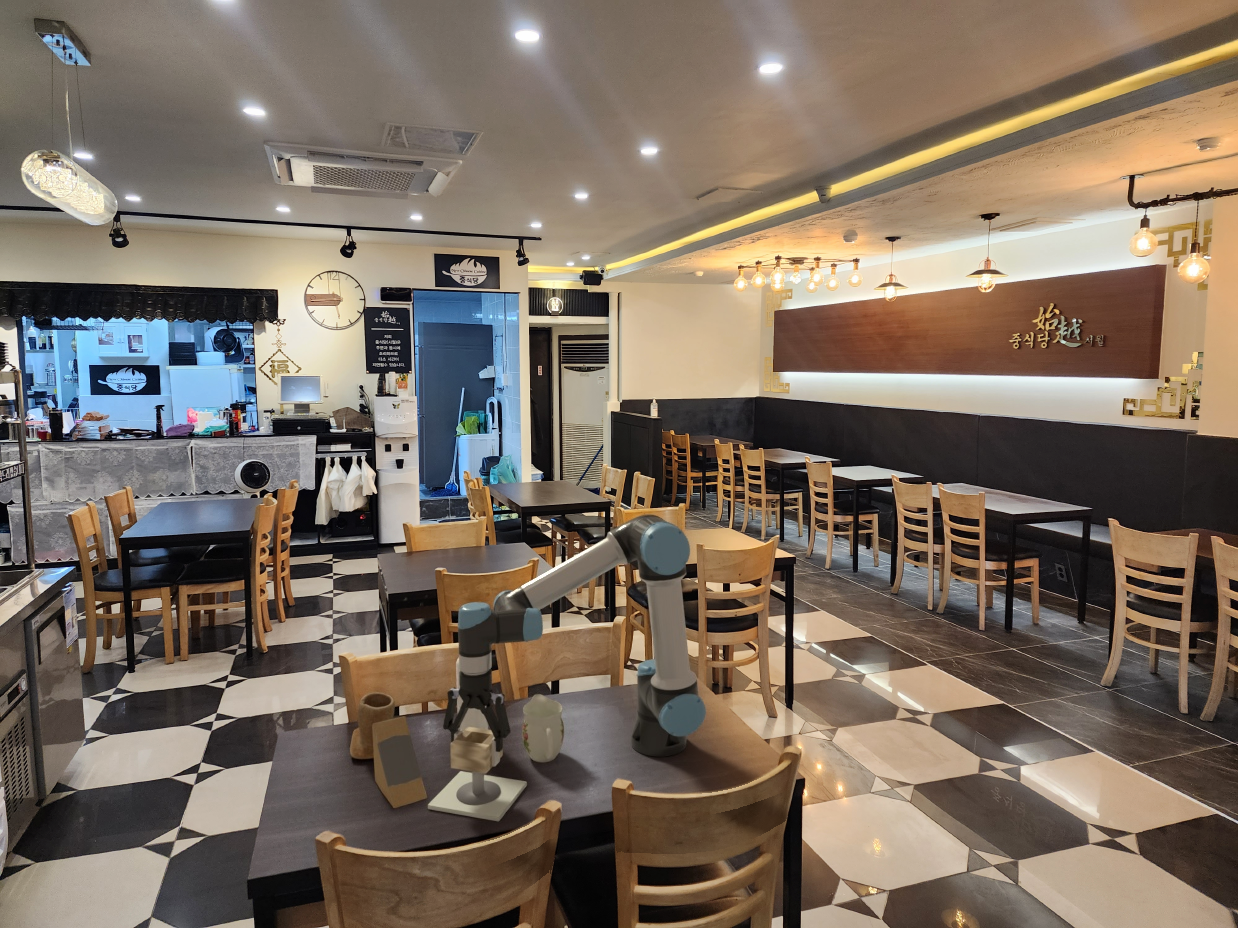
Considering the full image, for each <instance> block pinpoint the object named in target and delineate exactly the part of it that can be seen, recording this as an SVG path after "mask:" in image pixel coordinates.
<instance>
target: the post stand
mask: <svg viewBox="0 0 1238 928" xmlns="http://www.w3.org/2000/svg"><path fill="white" fill-rule="evenodd" d="M527 782H528V781H526V780H525V781H524V780H520V779H519V780H518V779H514V778H513V779H512V778H506V777H501V776H495V775H494V776H493V775H487V774H485V773H479V772H473V771H471V772H470V771H464V770H461V771H459V772H458V773H457V774H456V775H455V776H454V777H453V778H452V779H451V780H450V781H449V783H447V784H446V786H444V787H443V789H442V790H441V791H440V792H438V793H437V795H436V796H435V797H434V798H433V799H432V800H431V801H430V802H429V803H428V804H427V809H428V810H432V811H437V812H444V813H448V814H449V813H450V814H455V815H459V816H467V817H472V818H477V819H483V820H488V821H493V822H494V821H495V822H500V821H501V819H502V818H503V817H504V816H505V814H506V812H508V810H509V809H510V808H511V806H512V805H513V804H514V803H515V801H516V800H517V799H518V798H519V796H520V795H521V794H522V793H523V791H524V790H525V788H526V787H527V786H528V783H527Z"/></svg>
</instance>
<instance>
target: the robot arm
mask: <svg viewBox="0 0 1238 928" xmlns="http://www.w3.org/2000/svg"><path fill="white" fill-rule="evenodd" d="M690 555H691V545H690V541H689V539H688V537H687V535H686V534H685V533H684V532H683V531H682V529H681V528H680V527H679V526H677V525H676V524H673V523H672V522H668V521H666V520H665V519H663V518H662V517H661V516H658V515H655V514H642V515H638V516H636V517H634V518H633V517H632V518H631V519H630V520H628V521H626V522H624V523H622V524H620V525H619V526H617V527H615V528H613V529H611V530H610V531H608V532H607V535H606V536H605V538H604V539H601V540H600V541H599V542H597V543H595V544H593V545H591V546H590V547H588V548H585V549H584V550H583V551H581V552H579V553H577V554H576V555H574V556H572V557H571V558H569V559H567V560H565V561H563V562H562V563H560V564H558V565H556V566H554V567H553V568H551V569H549V570H548V571H546V572H544V573H542V574H540V575H539V576H537V577H536V578H534V579H531V580H530V581H529V582H526V583H525V584H523V585H521V586H519V587H517V588H516V589H514V590H510V589H509V590H503V591H500V593H498V594H497V595H496V596H495V598H494V601H493V604H492V605H493V610H492V608H491V605H490V604H488V603H486V602H478V601H475V602H468V603H465V604H462V605H461V606H460V607H459V609H458V616H457V617H458V619H457V621H458V622H457V634H458V636H457V637H458V641H457V642H458V658H459V669H460V672H459V685H460V689H457V687H455V686H454V687H452V688H450V689H449V690H448V691H447V706H446V710H445V716H444V721H443V724H442V725H443V726H442V728H443V729H444V731H445V730H448V731H449V732H450V743H451V742H452V741H454V740H455V739H456V738H457V737H458V736H459V735H460V734H461V733H462V729H459V730H458V728H460V727H461V726H460V725H461V723H462V721H463V719H464V717H465V715H466V713H467V711H468V709H469V708H470V709H472V708H475V709H477V710H480V711H481V713H482V714H484V716H485V718H486V720H487V723H488V728H490V729H489V730H491V731H492V733H493V735H494V738H493V739H492V766H493V767H496V766H497V765H498V764H499V763H500V761H501V758H500V751H501V750H502V749H503V748H504V739H506V738H507V737H508V736H509V735H510V734H511V731H512V730H511V727H510V722H509V718H508V715H507V710H506V706H505V698H506V696H505V693H500V694H499V693H498V694H497V693H494V691H493V689H492V688H493V687H492V685H493V672H492V669H491V668H492V667H493V666H492V664H493V663H492V661H493V660H492V645H497V644H509V643H520V642H521V643H523V642H524V643H526V642H527V643H528V642H532V641H537V640H538V641H539V640H540V639H541V638H542V636H543V633H544V632H543V631H544V627H543V626H544V624H543V616H542V611H541V609H542V610H543V609H544V608H545V607H547V606H549V605H551V604H553V603H554V602H555V601H558V600H560V599H561V598H562V597H565V596H566V595H568V594H569V593H572V592H574V591H575V590H576V589H579V588H580V587H582V586H584V585H586V584H587V583H588V582H589V583H590V582H591V581H593V580H594V579H596V578H598V577H600V576H601V575H603V574H605V573H607V572H608V571H610V570H612V569H614V568H615V567H617V566H618V565H629V564H630V563H632V562H634V561H637V567H638V575H639V576H638V578H639V579H640V580H641V581H642V582H643V583H645V584H646V591H647V603H648V611H649V621H650V629H651V639H652V647H653V648H652V649H653V657H654V658H652V659H647V660H644V661H642V662H640V663H639V664H638V666H637V673H636V678H637V679H636V680H637V681H636V683H637V687H636V688H637V694H636V695H637V696H636V697H637V699H636V702H637V711H636V712H637V715H636V719H635V722H634V723H633V724H634V725H633V727H632V731H631V734H630V745H631V747H632V748H633V749H634V751H636V752H638V753H639V754H643V755H645V756H651V757H669V756H674V755H678V754H680V753H682V752H683V751H684V750H685V749H686V747H687V736H689V735H691V734H693V733H695V732H696V731H697V730H698V729H699V728H700V727H701V726H702V725H703V723H704V721H705V719H706V713H707V710H706V705H705V703H704V701H703V699H702V698H701V697H700V696H699V687H698V678H697V675H696V673H695V672H694V671H692V670H691V668H690V659H689V649H688V639H687V628H686V618H685V609H684V608H685V606H684V599H683V588H682V579H683V578H684V577H685V576H687V567H686V565H687V563H688V561H689V559H690ZM459 695H460V697H461V699H462V700H463V703H462V705H461V707H460V710H459V712H457V713H456V709H457V698H458V696H459ZM491 700H492V701H493V703H491ZM493 704H494V707H495V710H494V709H493ZM485 706H486V708H485ZM455 713H456V714H457V715H456V716H455ZM454 717H455V719H454Z"/></svg>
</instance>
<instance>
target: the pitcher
mask: <svg viewBox="0 0 1238 928" xmlns="http://www.w3.org/2000/svg"><path fill="white" fill-rule="evenodd" d="M563 708H564V707H563V706H562V704H561V703H560V702H559V701H557V700H554V699H550V698H548V697H547V696H545V695H543V694H540V693H539V694H538V693H537V694H534V695H533V696H532V698H531V700H529V702H527V703H526V704H525V705H524V706H523V708H522V712H523V716H524V720H523V723H522V726H521V727H522V730H521V736H522V741H523V742H522V743H523V746H524V748H525V752H526V753H527V755H528V756H529V757H530V759H531V760H533V761H534V762H537V763H547V762H552V761H553V760H555V759H556V757H557V756H558V755H559V754H560V752H561V749H562V746H563V743H564V738H565V726H564V724H565V723H564V722H563V721H564V720H563V719H562V715H563V714H562V713H563Z"/></svg>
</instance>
